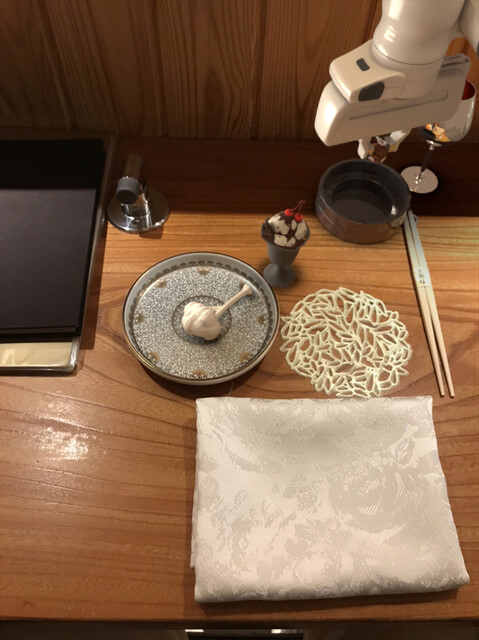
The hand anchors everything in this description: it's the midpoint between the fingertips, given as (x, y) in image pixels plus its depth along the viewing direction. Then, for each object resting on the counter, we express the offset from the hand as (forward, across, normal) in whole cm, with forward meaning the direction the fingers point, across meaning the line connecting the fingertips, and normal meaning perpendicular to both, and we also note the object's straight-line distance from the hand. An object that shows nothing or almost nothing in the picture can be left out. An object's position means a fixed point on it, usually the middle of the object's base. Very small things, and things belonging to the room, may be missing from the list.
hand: (376, 152), depth 81 cm
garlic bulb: (+13, +28, +12) cm, 33 cm away
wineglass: (+13, -13, -4) cm, 19 cm away
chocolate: (+2, 0, 0) cm, 2 cm away
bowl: (+12, 0, 0) cm, 12 cm away
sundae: (+13, +17, +8) cm, 23 cm away
